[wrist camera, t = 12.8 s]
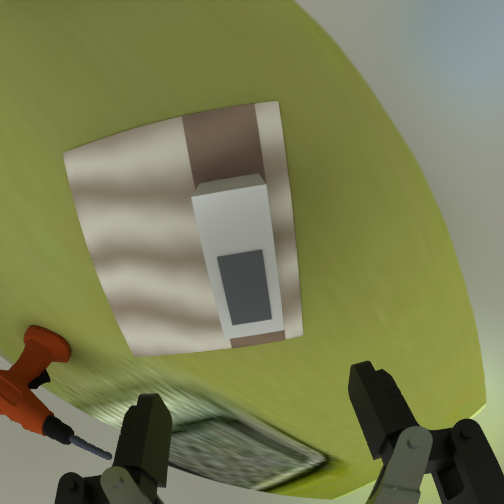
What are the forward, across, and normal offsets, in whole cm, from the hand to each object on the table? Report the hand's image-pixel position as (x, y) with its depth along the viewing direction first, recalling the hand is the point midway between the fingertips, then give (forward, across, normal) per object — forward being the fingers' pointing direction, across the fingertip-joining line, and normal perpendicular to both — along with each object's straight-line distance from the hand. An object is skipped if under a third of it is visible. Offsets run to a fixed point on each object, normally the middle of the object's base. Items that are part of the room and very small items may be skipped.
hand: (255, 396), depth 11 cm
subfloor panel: (+18, +5, 0) cm, 19 cm away
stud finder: (+17, 0, 0) cm, 17 cm away
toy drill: (+18, +25, +12) cm, 33 cm away
